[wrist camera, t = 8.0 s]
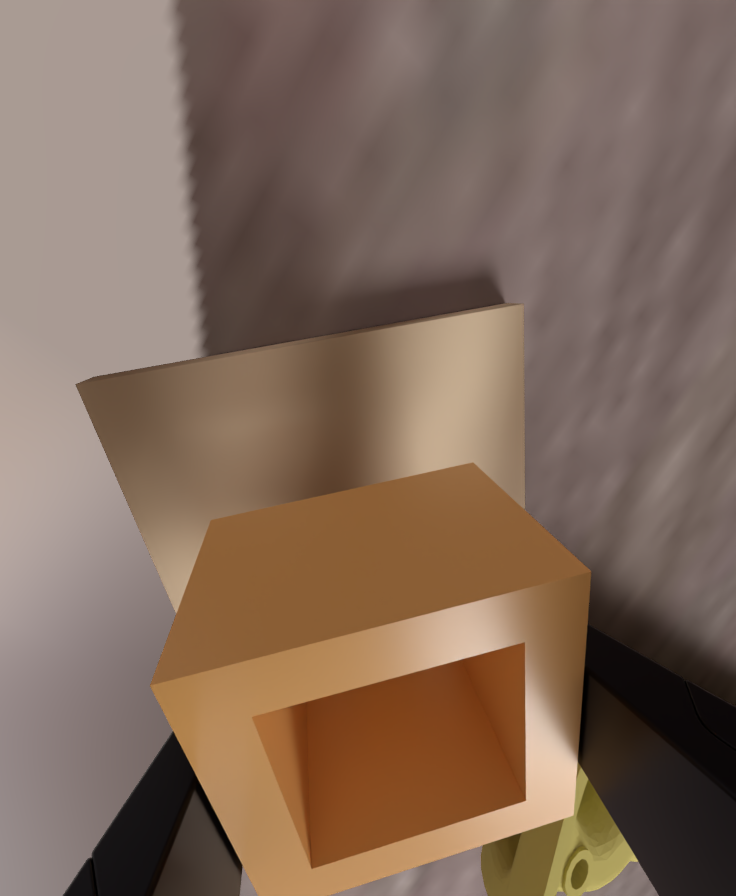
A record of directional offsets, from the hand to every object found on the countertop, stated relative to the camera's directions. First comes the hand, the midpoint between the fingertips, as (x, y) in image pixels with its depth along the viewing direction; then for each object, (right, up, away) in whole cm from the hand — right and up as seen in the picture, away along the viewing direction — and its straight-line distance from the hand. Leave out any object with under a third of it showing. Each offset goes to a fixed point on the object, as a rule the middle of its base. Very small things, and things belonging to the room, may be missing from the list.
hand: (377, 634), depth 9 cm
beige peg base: (-1, +2, +5) cm, 5 cm away
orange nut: (0, +1, +1) cm, 1 cm away
